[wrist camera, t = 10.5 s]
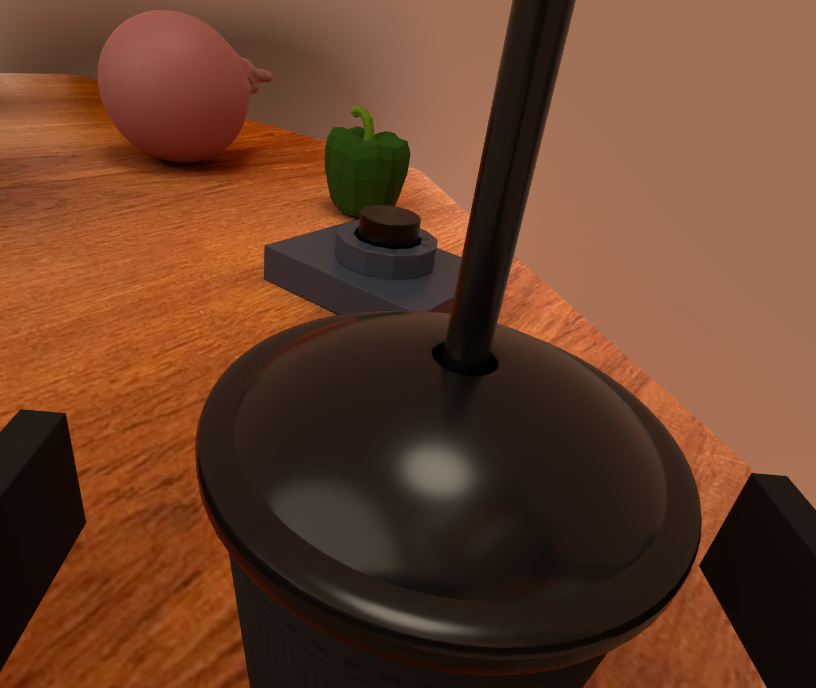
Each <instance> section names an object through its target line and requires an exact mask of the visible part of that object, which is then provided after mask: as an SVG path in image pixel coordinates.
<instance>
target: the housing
mask: <svg viewBox="0 0 816 688" xmlns="http://www.w3.org/2000/svg"><path fill="white" fill-rule="evenodd" d="M358 228H359V219H358V220H354V221H350V222H347V223H343V224H340V225H336V226H333V227H329V228H325V229H322V230H318V231H315V232H311V233H307V234H304V235H300V236H297V237H293V238H290V239H286V240H282V241H279V242H275V243H272V244H268V245H265V253H264V279H266V280H268V281H270V282H272V283H274V284H276V285H278V286H280V287H282V288H284V289H286V290H288V291H290V292H293V293H295V294H297V295H299V296H301V297H303V298H305V299H307V300H309V301H311V302H313V303H315V304H317V305H320V306H322V307H324V308H326V309H328V310H330V311H332V312H334V313H336V314H338V315H342V314H349V313H357V312H369V311H421V312H441V313H450V314H451V310H452V304H453V299H454V294H455V289H456V284H457V279H458V274H459V269H460V264H461V259H462V257H459V256H457V255H454V254H451V253H449V252H446V251H443V250H441V249H438V248H437V241H438V240H437V239H436V238H434V237H433V236H432V235H431V234H430V233H428V232H427V231H425V230H423V229H419V235H418V241H417V246H416V247H413V248H411V249H388V248H382V247H376V246H372V245H370V244H367V243H365V242H362V241H360V240H359V239H358Z"/></svg>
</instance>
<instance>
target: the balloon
mask: <svg viewBox="0 0 816 688" xmlns="http://www.w3.org/2000/svg"><path fill="white" fill-rule="evenodd" d="M272 80H273V75H272V74H271V73H270V72H268V71H265V70H263V69H257V68H254V66H253V64H252V63H251V62H250V61H249V60H248V59H243V58H241V57H240V56H239V55H238V54H237V53H236V52H235V51H234V50H233V49H232V47H231V46H230V45H229V43H227V41H226V40H225V39H224V38H223V37H222V36H221V35H220V34H219V33H218V32H217V31H216V30H214V29H213V28H212V27H211V26H209V25H208V24H206V23H205V22H203V21H201V20H199V19H197V18H195V17H193V16H190V15H188V14H185V13H181V12H177V11H170V10H155V11H148V12H144V13H141V14H138V15H135V16H133V17H131V18H129V19H128V20H126V21H125V22H123V23H122V24H121V25H120V26H118V27H117V28H116V29H115V31H114V32H113V33H112V34H111V35H110V37H109V38H108V40H107V42H106V43H105V45H104V48H103V50H102V53H101V56H100V60H99V66H98V85H99V91H100V95H101V99H102V102H103V105H104V107H105V109H106V112H107V114H108V115H109V117H110V119H111V121H112V122H113V124H114V125H115V126H116V128H117V129H118V130H119V131H120V133H121V134H122V135H123V136H124V137H125V138H126V139H127V140H128V141H130V142H131V143H132V144H133V145H135V146H136V147H137V148H139V149H140V150H142V151H144V152H145V153H147V154H149V155H151V156H154V157H156V158H159V159H162V160H166V161H171V162H178V163H190V162H197V161H202V160H205V159H208V158H211V157H213V156H215V155H217V154H218V153H220V152H222V151H223V150H224V149H225V148H227V147H228V146H229V145H230V144H231V143H232V142H233V141H234V139H235V138H236V137H237V135H238V134H239V132H240V130H241V128H242V126H243V124H244V121H245V118H246V114H247V109H248V98H249V97H250V94H252V93H257V92H258V90H259V87H260V86H259V83H260V82H271V81H272Z"/></svg>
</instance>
